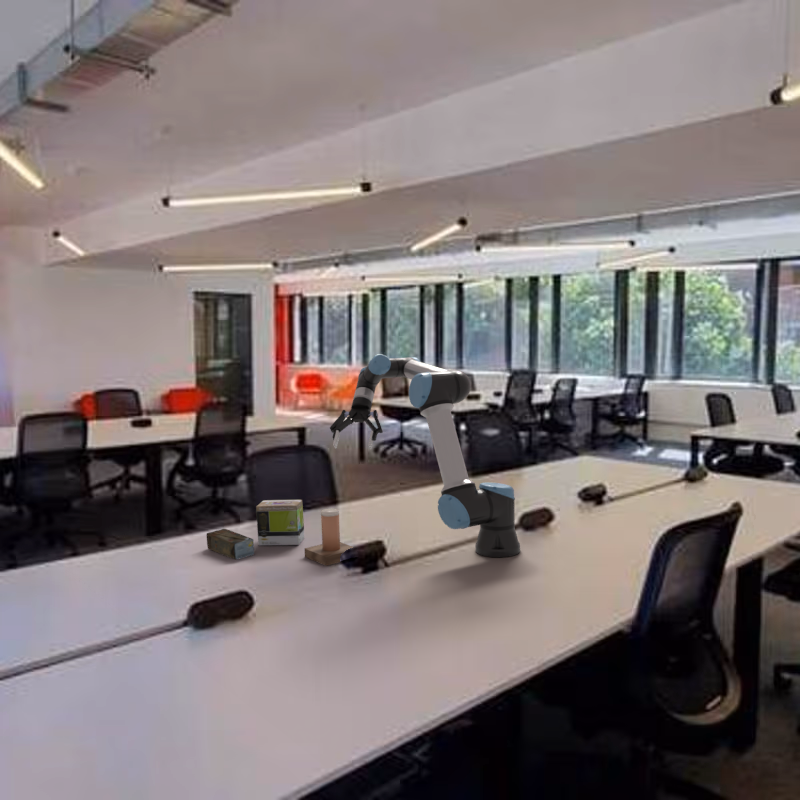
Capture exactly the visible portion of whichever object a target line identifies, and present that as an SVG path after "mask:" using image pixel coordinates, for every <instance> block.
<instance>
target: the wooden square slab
mask: <svg viewBox="0 0 800 800" xmlns="http://www.w3.org/2000/svg"><path fill="white" fill-rule="evenodd" d="M353 547H354V546H352V545H350V544H347V543H344V542H341V541H340V549H339V550H336V551H324V550H323V549H322V543H321V544H317V545H313V546H308V547H305V548H304V558H306V559H308V560H311V561H313V562H316V563H318V564H321V565H323V566H330V565H334V564H339V563H341V562H340V556H341V554H342V553H344V552H345V551H346V550H348V549H350V548H353Z"/></svg>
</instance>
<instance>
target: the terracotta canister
mask: <svg viewBox="0 0 800 800" xmlns="http://www.w3.org/2000/svg"><path fill="white" fill-rule="evenodd" d="M320 515H321V516H320V518H321V520H320V523H321V524H320V525H321V542H322V543H321V544H322V549H323V550H324V551H336V550H339V549H340V542H341V532H340V531H341V530H340V509H338V508H324V509H322V510H321V511H320Z"/></svg>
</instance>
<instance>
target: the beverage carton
mask: <svg viewBox="0 0 800 800" xmlns="http://www.w3.org/2000/svg"><path fill="white" fill-rule="evenodd" d="M206 545H207V549H208V550H210V551H213V552H215V553H218V554H220V555H222V554H223V556H226V557H227V556H228V558H230V557H231V559H233V558H234V559H233V560H236V559H237V560H240V559H243V557H244V558H247V557H246V556H248V557H250V556H249V555H251V556H254V555H255V546H254V538H251V537H249V536H246V535H243V534H241V533H238V532H235V531H232V530H230V529H227V528H222V529H218V530H217V529H216V530H214V531H211V532H207V533H206ZM253 554H254V555H253ZM239 558H240V559H239Z"/></svg>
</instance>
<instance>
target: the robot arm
mask: <svg viewBox="0 0 800 800" xmlns="http://www.w3.org/2000/svg"><path fill="white" fill-rule="evenodd" d="M390 378H391V379H393V378H394V379H395V378H406V379H408V380H411V381H410V383H409V388H408V398H409V403H410V404H411V405H412V407H414V408H416V409H419V412H420V415H421V416H423V417H424V418H426V422H427V425H428V430H429V434H430V437H431V440H432V441H431V442H432V445H433V448H434V452H435V456H436V461H437V464H438V467H439V473H440V475H441V479H442V483H443V487H442V488H441V491H440V494H441V496H440V497H439V498H438V500H437V504H438V505H437V511H438V514H439V517H440V519H441V521H442V522H443V523H444V524H445V526H447V527H448V528H449V529H452V530H460V529H462V530H464V529H467V528H471V527H472V528H473V527H475V526H479V532H478V535H477V539H476V542H475V548H474V549H475V550H474V551H475V553H477V554H478V555H480V556H484V557H489V558H506V557H507V558H509V557H513V556H516V555H518V554H520V553H521V543H520V541H519V538H518V536H517V535H518V534H517V532H516V529H515V527H516V525H515V523H516V522H515V519H516V518H515V500H516V497H515V490H514V488H513V487H512V486H511V485H509V484H506V483H501V482H500V483H499V482H481V483H479V486H478V489H477V486H476V482H474V481H473V480H471V479H470V478H469V475H468V471H467V467H466V463H465V460H464V456H463V452H462V449H461V444H460V441H459V438H458V434H457V430H456V426H455V423H454V419H453V414H452V410H453V409H454V404H458V403H461V402H463V401H464V400H465V399H466V398H467V397H469V395H470V394H469V393H470V391H471V380H470V378H469V376H468V375H467V374H466V373H464V372H463V371H461V370H458V369H454V368H448V369H444V368H442V367H438V366H434V365H431V364H427V363H424V362H423V361H420V360H419V358H418V357H414V356H413V357H411V356H407V357H394V358H389V357H388V356H387V355H385V354H382V353H378V354H375V355H374V356H373V358H371V359H370V360H369V362H368V364H367V365H366V366H364V367H362V368H361V369H360V371H359V373H358V378H357V383H356V386H355V391H354V396H353V398H352V399H353V400H352V403H351V407H350V411H346V409H343V410H342V411H341V414H340V415H339V416H338V417H337V418H336V420H334V422H333V423H332V424H331V425H330V427H329V429H330V431H331V433H332V439H333V442H332V443H333V444H332V446H333V447H334V450H335V449H336V450H337V448H338V446H339V445H338V444H339V440H340V436H341V432H342V431H343V430H344V429H347V427H348V426H351V425H353V424H354V423H356V424H357V423H362V424H363V423H365V424H366V425H367V426H368V427H369V428H370V433H369V438H368V443H367V446H368V449H369V450H372V449H373V444H374V442H375V441H376V440H377V437H378V434H382V433H383V432H384V431H383V428H382V426H381V423H380V421H379V414H378V411H377V409H374V410H373V411H372V406H373V401H374V397H375V394H376V393H375V392H376V388H377V386H378V384H379V383H380V382H381V381H382V379H390ZM370 417H372V418H373V419H374V421H375V424H376V426H377V427H376V426H375V425H374V424H373V422H372V421H371V420H370V419H369V418H370Z"/></svg>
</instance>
